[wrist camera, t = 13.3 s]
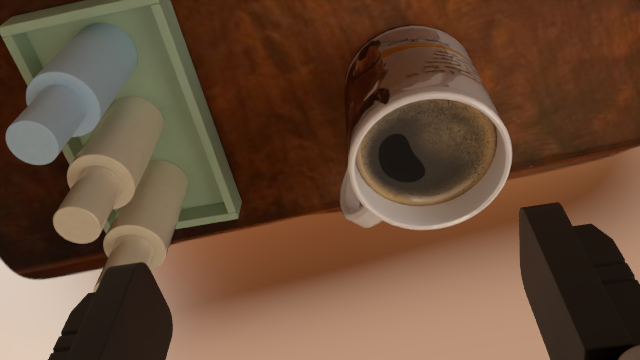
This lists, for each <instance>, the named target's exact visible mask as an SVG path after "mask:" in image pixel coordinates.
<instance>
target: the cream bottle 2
mask: <svg viewBox="0 0 640 360" xmlns="http://www.w3.org/2000/svg"><path fill="white" fill-rule="evenodd" d="M188 190H189V181H188V178H187V176H186V174H185V173H184V172H183V171H182V170H181V169H180V168H179V167H178V166H176V165H175V164H173V163H170V162H167V161H162V160H154V161H150V162H149V164H148V166H147V168H146V170H145V172H144V174H143V177H142V179H141V181H140V183H139V185H138V187H137V189H136V191H135V193H134V196H133V198H132V199H131V201H130V202H129V203H127V204H126V205H124V206H123V207H120V208H119V209H118V211H117V213H116V215H115V217H114V219H113V221H112V223H111V225H110V228H109V230H108V232H107V234H106V236H105V238H104V242H103V245H104V250H105V253H106V255H107V256H108V259H107V262H106V264H105V266H104V268H103V270H102V272H101V275H100V277H99V279H98V281H97V283H96V285H95V288H94V292H96V290H97V288H98V286H99V284H100V281H101V279H102V277H103V275H104V273H105V271H106V269H107V268H109V267H111V266H118V265H124V264H131V263H138V262H144V263H145V264H147V266H148V267H149V269H150V271H151V270H154V269H156V268H157V267H159V266H160V265H161V264H162V263H163V262H164V260H165V257H166V254H167V251H168V248H169V245H170V243H171V240H172V237H173V234H174V231H175V228H176V225H177V222H178V219H179V216H180V214H181V211H182V208H183V205H184V202H185V199H186V196H187V193H188Z"/></svg>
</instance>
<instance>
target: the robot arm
mask: <svg viewBox="0 0 640 360" xmlns="http://www.w3.org/2000/svg"><path fill="white" fill-rule="evenodd" d="M519 235H520V267H521V275H522V280H523V285H524V289H525V292H526V295H527V298H528V300H529V303H530V306H531V308H532V311H533V313H534V316H535V319H536V322H537V325H538V327H539V330H540V332H541V335H542V338H543V341H544V343H545V346H546V349H547V351H548V354H549V357H550V360H640V284H639V283H638V281H637V280H635V278H634V274H633V273H632V271H631V269H630V267H629V266H628V264H627V263H625V259H624V257H623V256H622V254H621V252H620V251H619V249H618V247H617V246H616V244H615V242H614V241H613V239H611V238H610V237H609V236H607V235H606V234H604V233H603V232H602V231H601V230H599V229H598V228H597V227H595V226H594V225H592V224H586V225H579V226H572V224H571V222H570V220H569V219H568V217H567V215H566V213H565V211H564V209H563V207H562V206H561V205H560V203H558V202H557V203H550V204H544V205H537V206H530V207H522V208H520V212H519ZM172 331H173V324H172V316H171V312H170V309H169V307H168V305H167V303H166V301H165V299H164V297H163V295H162V293H161V291H160V289H159V287H158V285H157V283H156V281H155V279H154V277H153V275H152V273H151V271H150V269H149V267H148V266H147V264H145V263H144V262H138V263H131V264H124V265H118V266H111V267H109V268H107V269H106V271H105V273H104V275H103V277H102V279H101V281H100V284H99V286H98V288H97V290H96V292H93V293H88V294H87V295H86V296H85V297H84V298H83V299H82V301H81V302H80V303H79V304H78V305H77V306H76V307H75V308H74V309H73V310H72V312H71V313H70V315H69V317H68V319H67V321H66V323H65V325H64V328H63V330H62V332H61V333H62V336H60V337H59V338H58V340H57V342H56V344H55V346H54V348H53V350H54V352H53V353H51V355H50V357H49V359H48V360H165V359H166V356H167V352H168V349H169V345H170V342H171V338H172Z"/></svg>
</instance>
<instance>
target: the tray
mask: <svg viewBox="0 0 640 360" xmlns="http://www.w3.org/2000/svg"><path fill="white" fill-rule="evenodd" d="M93 23H107V24H111V25H114V26H116V27H118V28H120V29H121V30H123V31H124V32H125V33H126V34H127V35H128V36H129V37H130V38H131V40H132V41H133V43H134V45H135V47H136V50H137V56H138V59H137V65H136V67H135V69H134V71H133V72H132V74H131V75H130V77H129V78H128V80H127V81H126V83H125V84H124V86H123V87H122V89H121V90H120V92H119V93H118V95H117V96H116V98H115V99H114V101H115V100H117V99H119V98H121V97H126V96H136V97H140V98H143V99H146V100H148V101H149V102H151V103H152V104H153V105H155V106H156V107H157V109H158V110H159V111H160V113H161V115H162V117H163V120H164V132H163V134H162V136H161V138H160V141H159V143H158V145H157V147H156V149H155V151H154V153H153V155H152V158H151V160H150V161H154V160H162V161H167V162H170V163H173V164H175V165H176V166H178V167H179V168H180V169H181V170H182V171H183V172H184V173H185V174H186V176H187V178H188V181H189V190H188V193H187V196H186V199H185V202H184V205H183V208H182V211H181V214H180V216H179V219H178V222H177V225H176V228H175V229H179V228H185V227H191V226H197V225H203V224H209V223H215V222H221V221H227V220H233V219H238V218H239V213H240V208H241V203H242V201H241V198H240V195H239V192H238V189H237V187H236V184H235V181H234V178H233V175H232V173H231V170H230V167H229V164H228V161H227V159H226V156H225V153H224V150H223V147H222V145H221V142H220V139H219V136H218V133H217V130H216V128H215V125H214V122H213V119H212V116H211V114H210V111H209V108H208V105H207V102H206V100H205V97H204V94H203V91H202V88H201V86H200V83H199V80H198V77H197V74H196V71H195V69H194V66H193V63H192V60H191V57H190V55H189V52H188V49H187V46H186V43H185V41H184V38H183V35H182V32H181V29H180V26H179V24H178V21H177V18H176V15H175V12H174V10H173V7H172V4H171V1H170V0H84V1H80V2H75V3H71V4H66V5H62V6H57V7H53V8H48V9H44V10H39V11H35V12H30V13H26V14H21V15H17V16H13V17H11V18H10V19H9V20H7V21H6V22H5V23H3V24H2V25H1V26H0V35H1V36H2V37H3V38H2V39H3V41H4V42H5V44H6V46H7V48H8V50H9V52H10V54H11V56H12V57H13V59H14V61H15V63H16V65H17V67H18V69H19V71H20V73H21V74H22V76H23V78H24V80H25V82H26V84H27V86H28V85H29V83H30V82H31V81H32V79H33V78H34V77H35V76H36V75H37V74H38V73H39V72H40V71H41V70H42V69H43V68H44V67H45V66H46V65H47V64H48V63H49V62H50V61H51V60H52V59H53V58H54V57H55V56H56V55H57V54H58V53H59V52H60V51H61V50H62V49H63V48H64V47H65V46H66V45H67V44H68V43H69V42H70V41H71V40H72V39H73V38H74V37H75V36H76V35H77V34H78V33H79V32H80V31H81V30H82V29H83V28H85V27H86V26H88V25H90V24H93ZM114 101H113V102H114ZM113 102H112V103H113ZM109 107H110V106H109ZM107 110H108V109H107ZM105 113H106V112H105ZM103 116H104V115H103ZM101 119H102V118H101ZM94 129H95V128H94ZM94 129H93V130H94ZM93 130H92V131H91V132H89V133H88V134H85V135H83V136H79V137H71V138H70V139H69V141H68V142H67V143H66V145H65V146H64V148H63V149H62V151H63V153H64V155H65V157H66V159H67V161H68V163H69V165H70V164H71V163H72V161H73V160H74V158H75V157H76V156H77V154H78V153H79V151H80V150H81V148H82V147H83V145H84V144H85V142H86V141H87V139H88V138H89V136H90V135H91V133H92V132H93ZM118 209H119V208H117V209H113V210H112V212H111V214H110V216H109V217H108V219H107V221H106V223H105V225H104V227H103V229H104V230H105V232H106V234H107V232H108V230H109V228H110V225H111V223H112V221H113V219H114V217H115V215H116V213H117V211H118Z"/></svg>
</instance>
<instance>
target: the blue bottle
mask: <svg viewBox="0 0 640 360" xmlns="http://www.w3.org/2000/svg"><path fill="white" fill-rule="evenodd" d="M137 59H138V56H137V50H136V47H135V45H134V43H133V41H132V40H131V38H130V37H129V36H128V35H127V34H126V33H125V32H124V31H123V30H121V29H120V28H118V27H116V26H114V25H111V24H107V23H93V24H90V25H88V26H86V27H85V28H83V29H82V30H81V31H80V32H79V33H78V34H77V35H76V36H75V37H74V38H73V39H72V40H71V41H70V42H69V43H68V44H67V45H66V46H65V47H64V48H63V49H62V50H61V51H60V52H59V53H58V54H57V55H56V56H55V57H54V58H53V59H52V60H51V61H50V62H49V63H48V64H47V65H46V66H45V67H44V68H43V69H42V70H41V71H40V72H39V73H38V74H37V75H36V76H35V77H34V78H33V79H32V81H31V82H30V83H29V85H28V87H27V90H26V103H27V106H28V107H27V108H26V109H25V110H24V111H23V112H22V113H21V114H20V115H19V116H18V117H17V119H16V120H15V121H14V122H13V123H12V124H11V125H10V126H9V127H8V129H7V131H6V143H7V145H8V147H9V149H10V150H11V152H12V153H13V154H14V155H15V156H16V157H18V158H19V159H20V160H22V161H24V162H26V163H29V164H33V165H45V164H48V163H50V162H52V161H53V160H55V158H56V157H57V156H58V154H59V153H60V152H61V150H62V149H63V148H64V146H65V145H66V143H67V142H68V141H69V139H70V138H71V137H79V136H83V135H85V134H88V133H89V132H91V131H92V130H93V129H94V128H95V127H96V126H97V124H98V123H99V121H100V120H101V118H102V117H103V115H104V114H105V112H106V111H107V109H108V108H109V106H110V105H111V104H112V102H113V101H114V99H115V98H116V96H117V95H118V93H119V92H120V90H121V89H122V87H123V86H124V84H125V83H126V81H127V80H128V78H129V77H130V75H131V74H132V72H133V71H134V69H135V67H136V65H137Z"/></svg>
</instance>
